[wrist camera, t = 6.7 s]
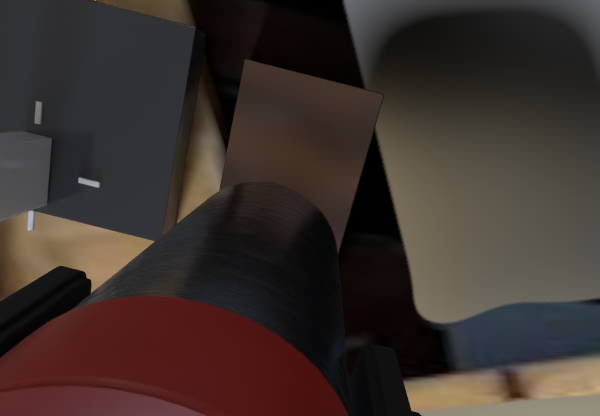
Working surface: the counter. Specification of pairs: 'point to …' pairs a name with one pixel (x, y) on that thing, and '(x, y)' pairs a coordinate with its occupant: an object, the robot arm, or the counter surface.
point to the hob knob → (23, 172)
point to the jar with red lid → (201, 323)
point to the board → (302, 137)
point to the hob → (103, 107)
